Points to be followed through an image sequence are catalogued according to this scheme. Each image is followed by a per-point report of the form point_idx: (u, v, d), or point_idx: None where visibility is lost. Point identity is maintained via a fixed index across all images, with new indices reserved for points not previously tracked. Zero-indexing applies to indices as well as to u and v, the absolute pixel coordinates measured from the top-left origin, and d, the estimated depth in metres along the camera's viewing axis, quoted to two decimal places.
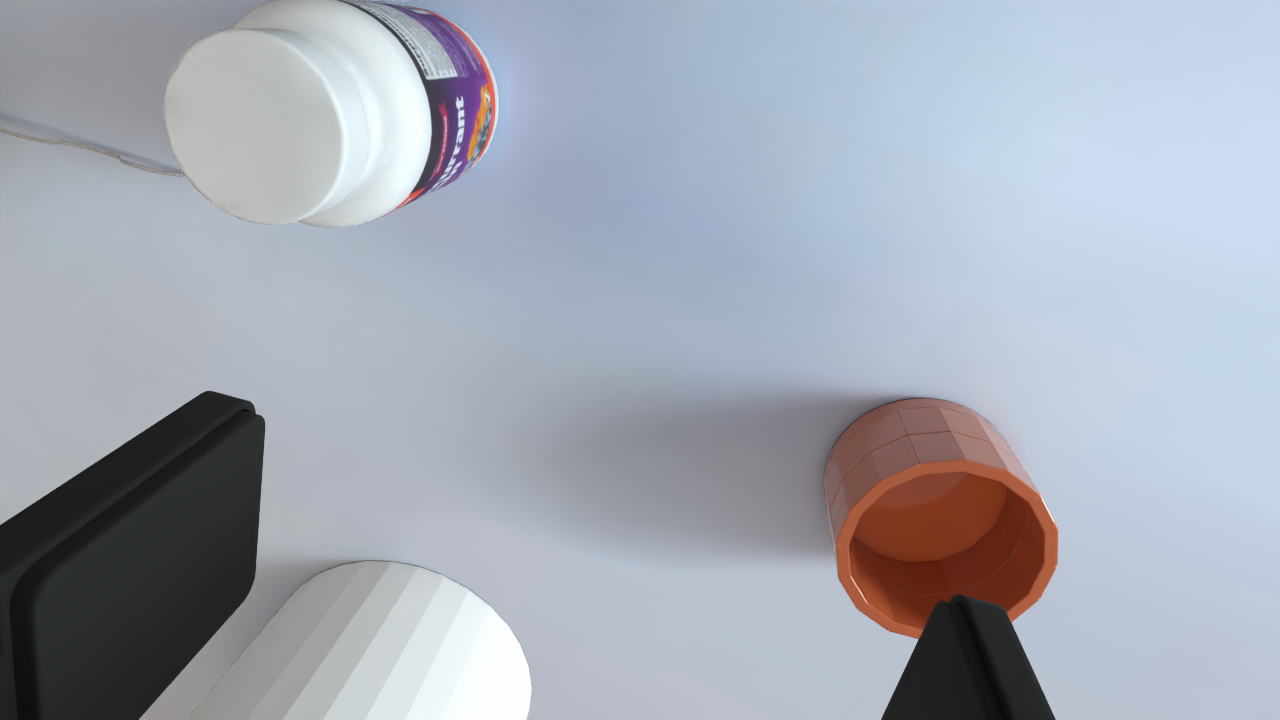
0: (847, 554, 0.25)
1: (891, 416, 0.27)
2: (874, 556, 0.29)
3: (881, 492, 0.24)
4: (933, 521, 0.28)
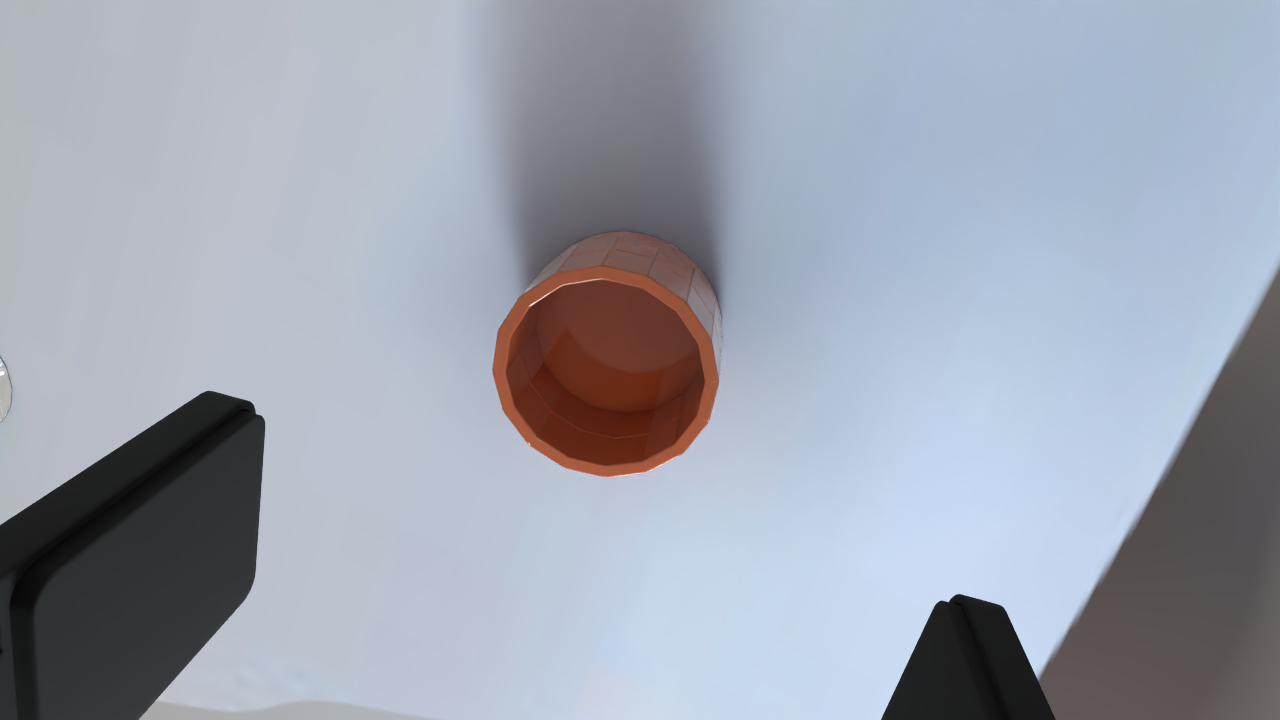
0: (590, 279, 0.22)
1: (711, 296, 0.26)
2: None
3: (673, 306, 0.22)
4: (588, 349, 0.27)
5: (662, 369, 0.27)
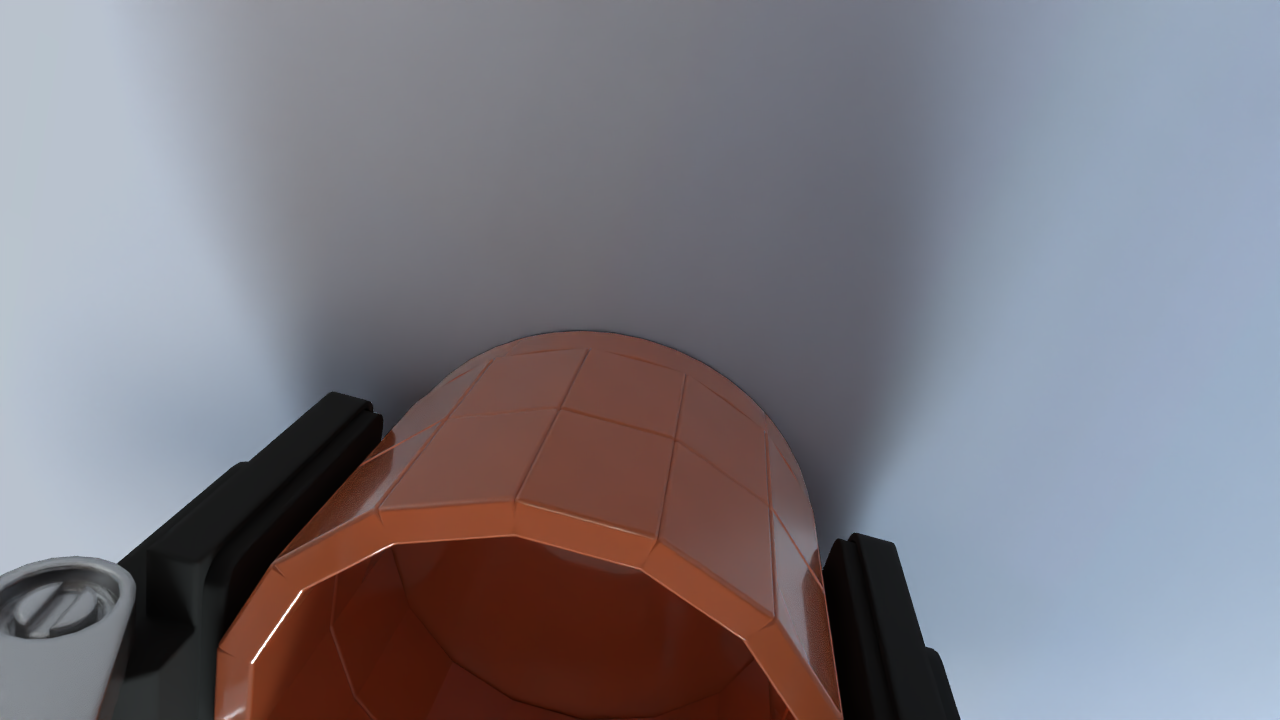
0: (480, 534, 0.07)
1: (805, 502, 0.10)
2: None
3: (734, 628, 0.07)
4: (510, 590, 0.12)
5: (675, 641, 0.12)
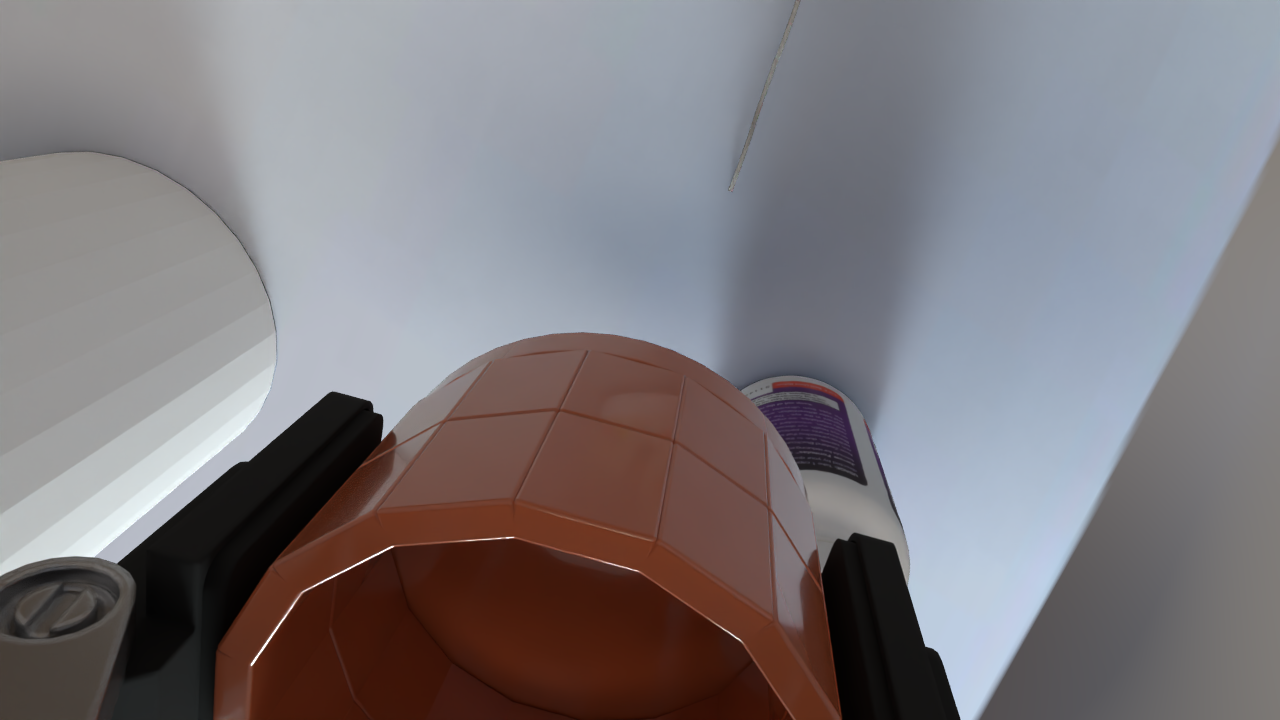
0: (478, 537, 0.07)
1: (804, 504, 0.11)
2: None
3: (733, 630, 0.07)
4: (509, 591, 0.12)
5: (675, 642, 0.12)
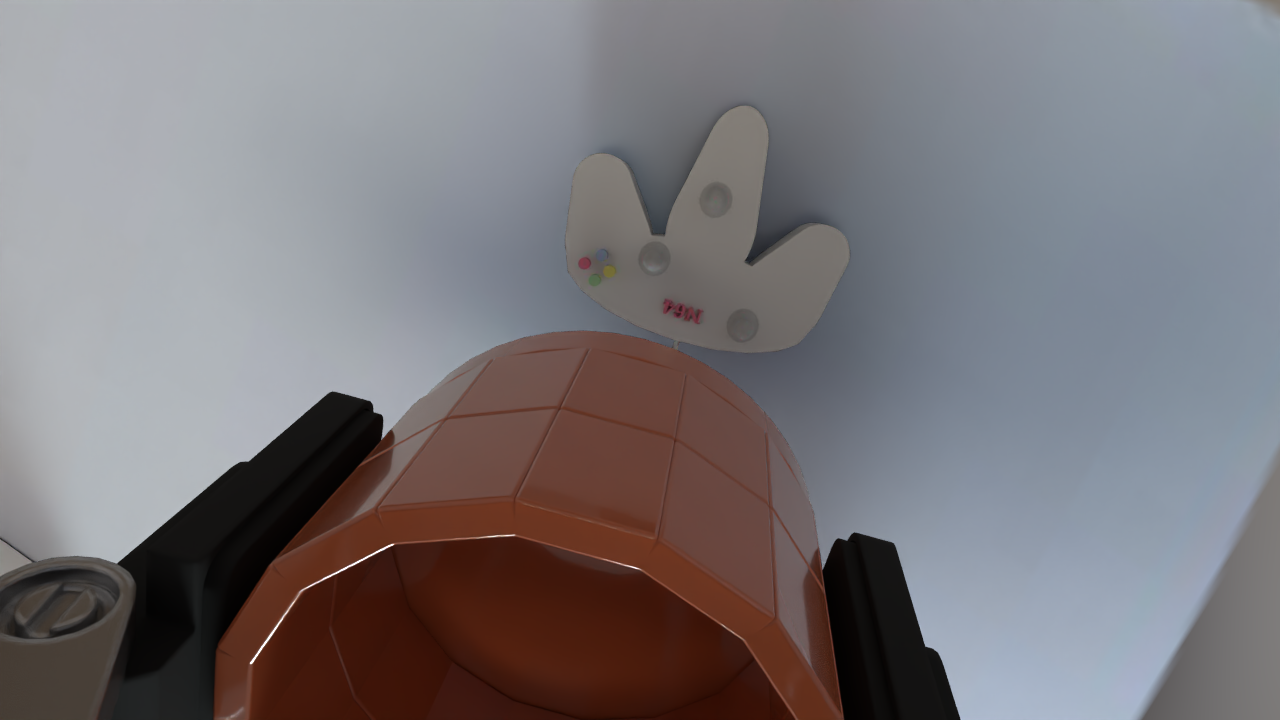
0: (479, 534, 0.07)
1: (805, 502, 0.10)
2: None
3: (734, 628, 0.07)
4: (510, 590, 0.12)
5: (675, 641, 0.12)
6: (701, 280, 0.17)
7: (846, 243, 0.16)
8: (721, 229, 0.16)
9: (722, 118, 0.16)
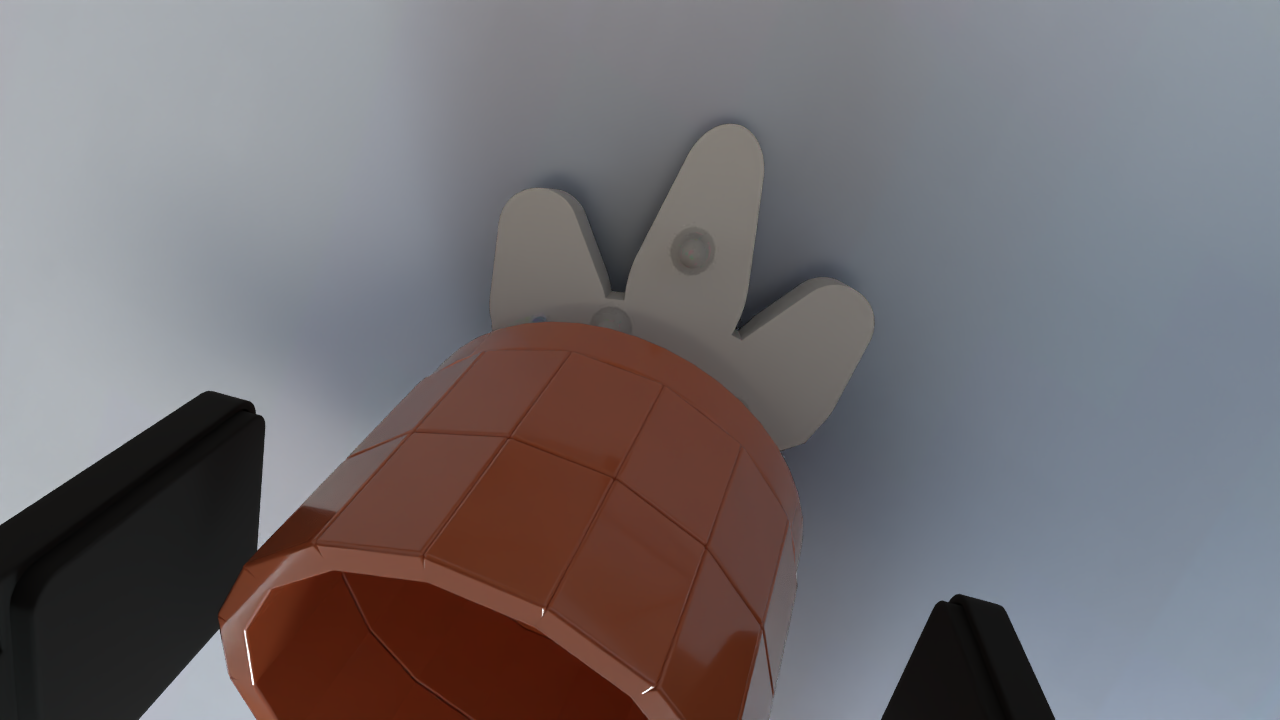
0: (398, 576, 0.08)
1: (777, 517, 0.11)
2: None
3: (621, 687, 0.08)
4: None
5: None
6: None
7: (869, 310, 0.12)
8: (700, 290, 0.12)
9: (701, 141, 0.12)
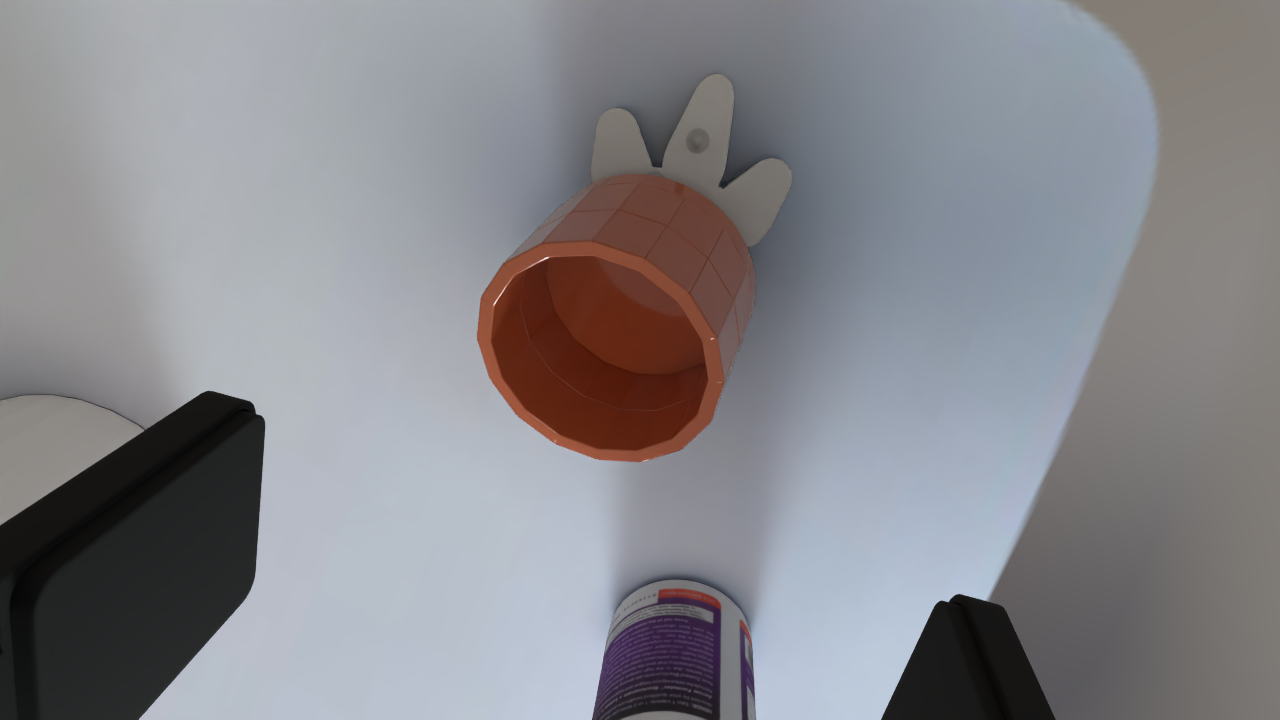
0: (580, 254, 0.19)
1: (741, 264, 0.22)
2: None
3: (674, 296, 0.19)
4: (603, 304, 0.24)
5: (683, 334, 0.24)
6: None
7: (789, 171, 0.23)
8: (701, 162, 0.23)
9: (701, 82, 0.23)
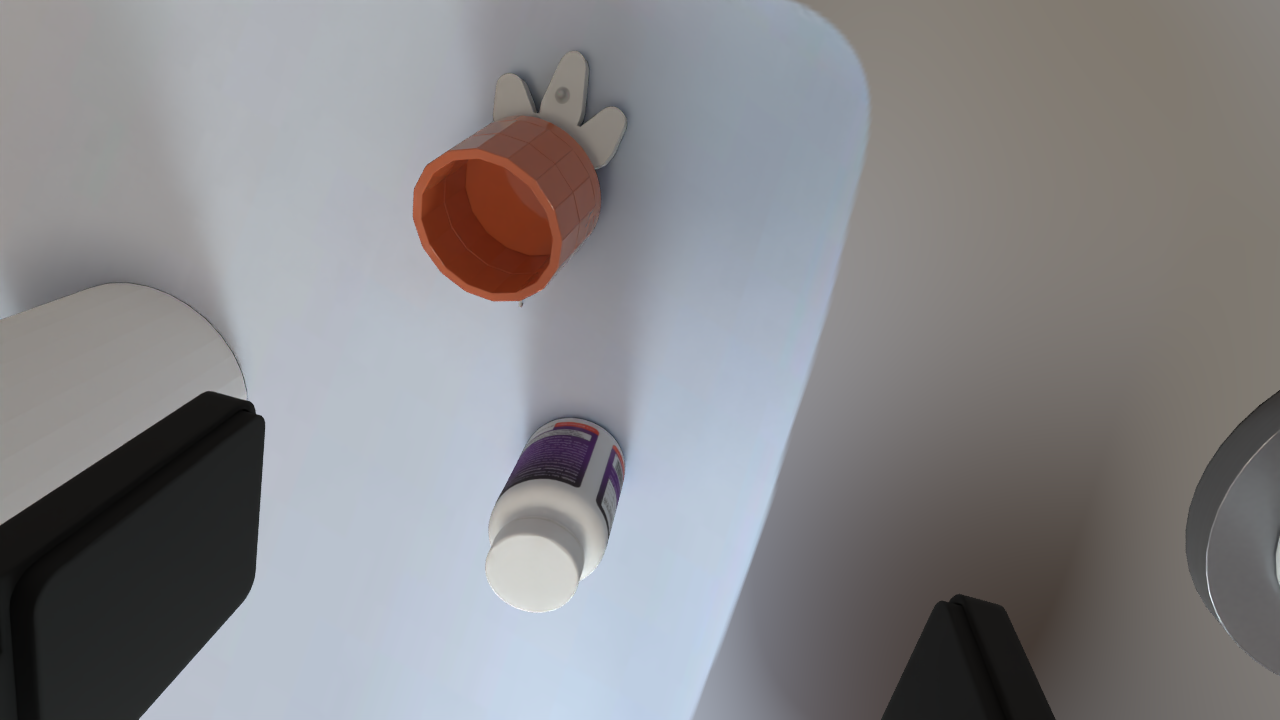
0: (470, 157, 0.31)
1: (584, 172, 0.33)
2: (465, 162, 0.35)
3: (527, 183, 0.31)
4: (503, 205, 0.36)
5: None
6: None
7: (623, 115, 0.35)
8: (565, 109, 0.35)
9: (564, 56, 0.34)
